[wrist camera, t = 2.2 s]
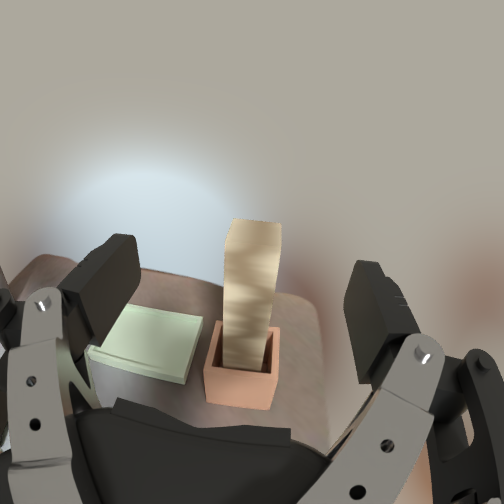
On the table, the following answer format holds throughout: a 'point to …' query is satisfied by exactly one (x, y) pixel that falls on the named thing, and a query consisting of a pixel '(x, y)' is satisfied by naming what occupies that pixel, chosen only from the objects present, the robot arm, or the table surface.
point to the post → (249, 291)
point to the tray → (151, 343)
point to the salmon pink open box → (241, 375)
